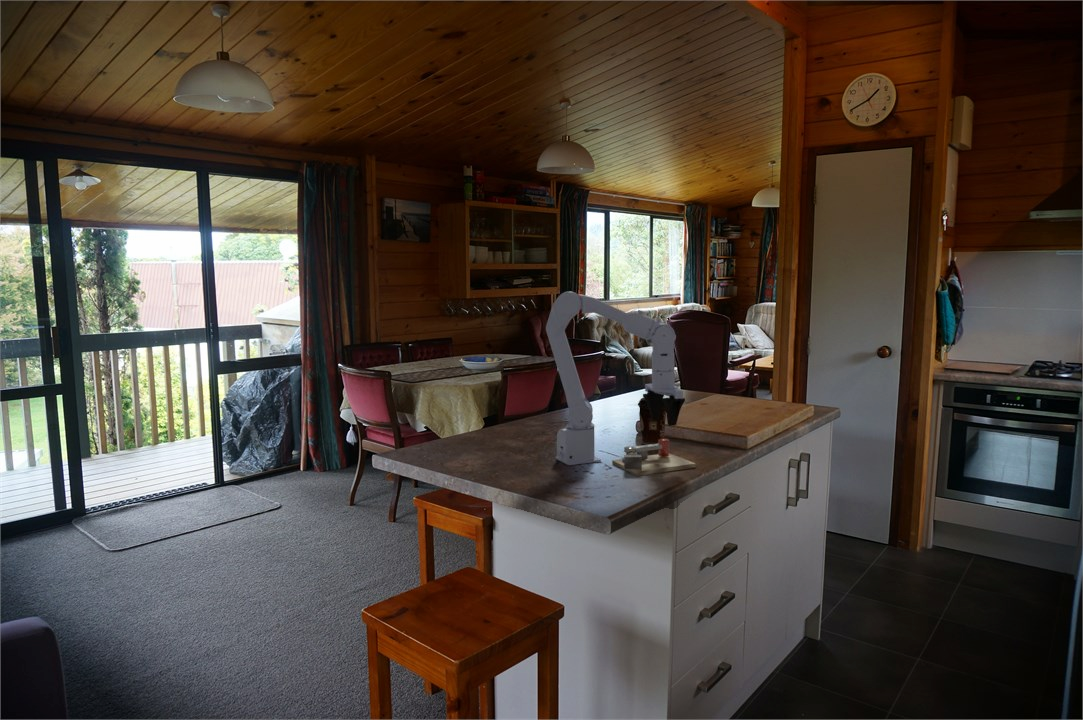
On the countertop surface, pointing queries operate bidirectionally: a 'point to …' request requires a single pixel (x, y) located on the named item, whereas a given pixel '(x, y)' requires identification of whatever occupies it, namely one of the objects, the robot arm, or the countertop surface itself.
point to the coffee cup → (651, 424)
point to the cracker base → (652, 464)
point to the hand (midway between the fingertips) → (663, 422)
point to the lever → (643, 450)
